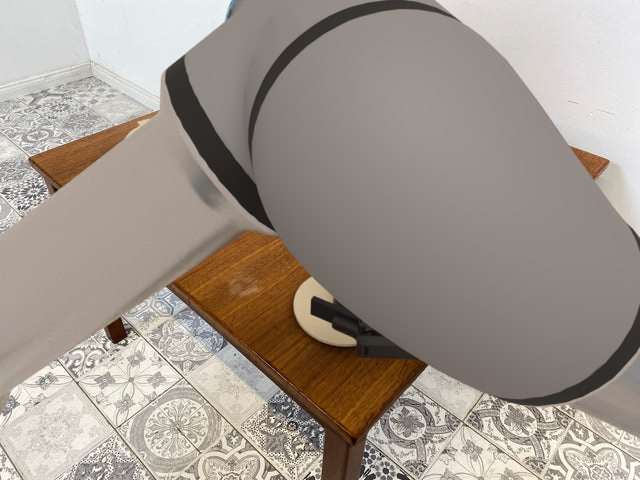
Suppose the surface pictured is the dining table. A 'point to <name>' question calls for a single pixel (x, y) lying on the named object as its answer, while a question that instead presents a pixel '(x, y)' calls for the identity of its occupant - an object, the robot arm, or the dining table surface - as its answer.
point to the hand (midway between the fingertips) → (336, 270)
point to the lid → (314, 324)
